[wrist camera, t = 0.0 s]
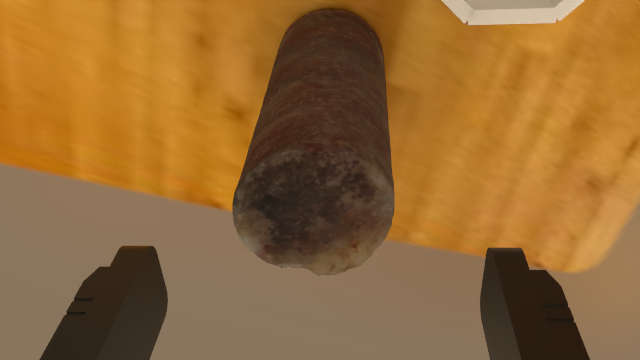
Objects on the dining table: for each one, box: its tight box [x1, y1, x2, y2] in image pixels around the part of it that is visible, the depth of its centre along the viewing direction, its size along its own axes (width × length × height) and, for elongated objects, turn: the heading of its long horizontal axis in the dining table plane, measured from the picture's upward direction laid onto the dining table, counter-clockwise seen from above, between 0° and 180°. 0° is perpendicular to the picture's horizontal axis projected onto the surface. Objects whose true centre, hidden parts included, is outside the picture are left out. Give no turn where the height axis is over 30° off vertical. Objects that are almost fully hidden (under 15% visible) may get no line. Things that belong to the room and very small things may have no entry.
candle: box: [233, 9, 394, 275], centre depth 34 cm, size 8×7×20 cm
